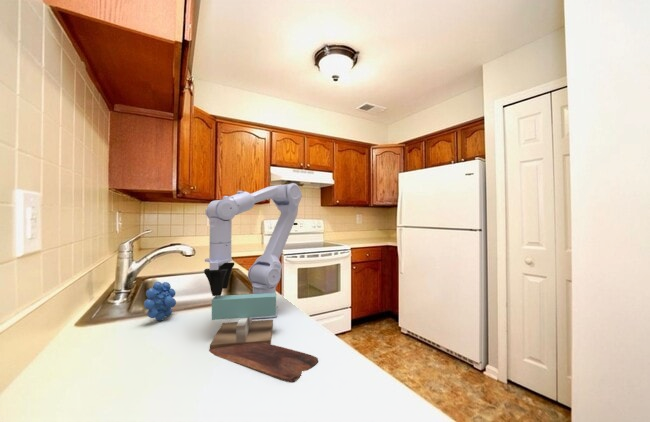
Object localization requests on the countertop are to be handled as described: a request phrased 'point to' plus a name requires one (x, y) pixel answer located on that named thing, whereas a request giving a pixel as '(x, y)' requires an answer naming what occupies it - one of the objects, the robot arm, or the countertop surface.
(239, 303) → the teal rectangular bar
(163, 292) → the grapes
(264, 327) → the ridge
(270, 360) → the wooden tablet
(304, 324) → the countertop surface
